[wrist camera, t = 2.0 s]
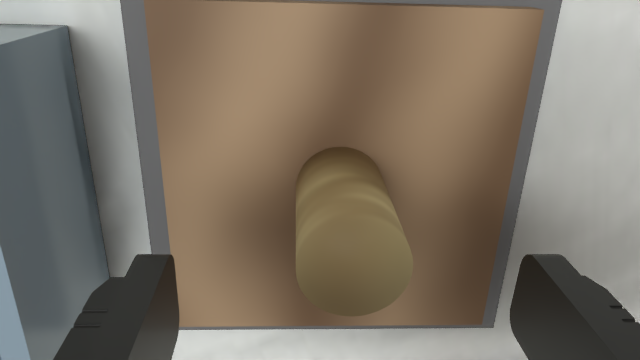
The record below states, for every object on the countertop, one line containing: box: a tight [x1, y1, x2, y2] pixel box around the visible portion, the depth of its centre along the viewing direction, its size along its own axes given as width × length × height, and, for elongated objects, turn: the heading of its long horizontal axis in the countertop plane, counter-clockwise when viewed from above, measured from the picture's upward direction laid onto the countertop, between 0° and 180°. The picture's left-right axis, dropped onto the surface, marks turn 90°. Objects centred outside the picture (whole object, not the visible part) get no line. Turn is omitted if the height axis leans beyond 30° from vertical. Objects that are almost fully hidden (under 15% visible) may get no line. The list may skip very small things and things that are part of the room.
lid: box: [144, 0, 544, 327], centre depth 15 cm, size 12×12×6 cm
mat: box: [120, 0, 562, 330], centre depth 19 cm, size 14×14×1 cm
